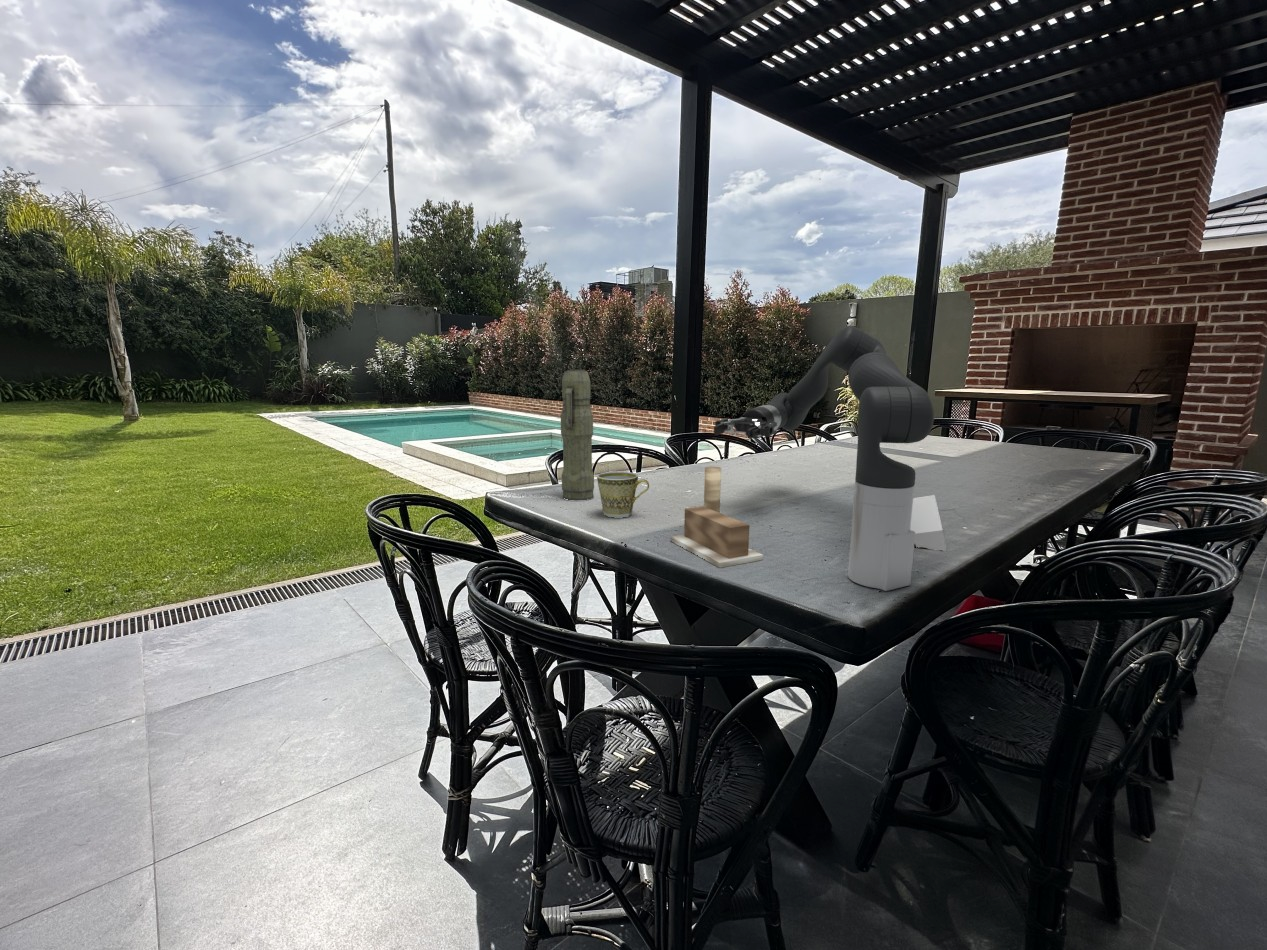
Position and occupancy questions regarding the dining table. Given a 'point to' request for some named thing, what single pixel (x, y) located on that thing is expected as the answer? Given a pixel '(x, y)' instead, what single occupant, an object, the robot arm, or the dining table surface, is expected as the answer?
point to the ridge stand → (716, 538)
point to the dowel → (712, 488)
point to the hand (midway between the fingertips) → (732, 432)
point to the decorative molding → (927, 523)
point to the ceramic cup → (618, 492)
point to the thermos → (577, 436)
